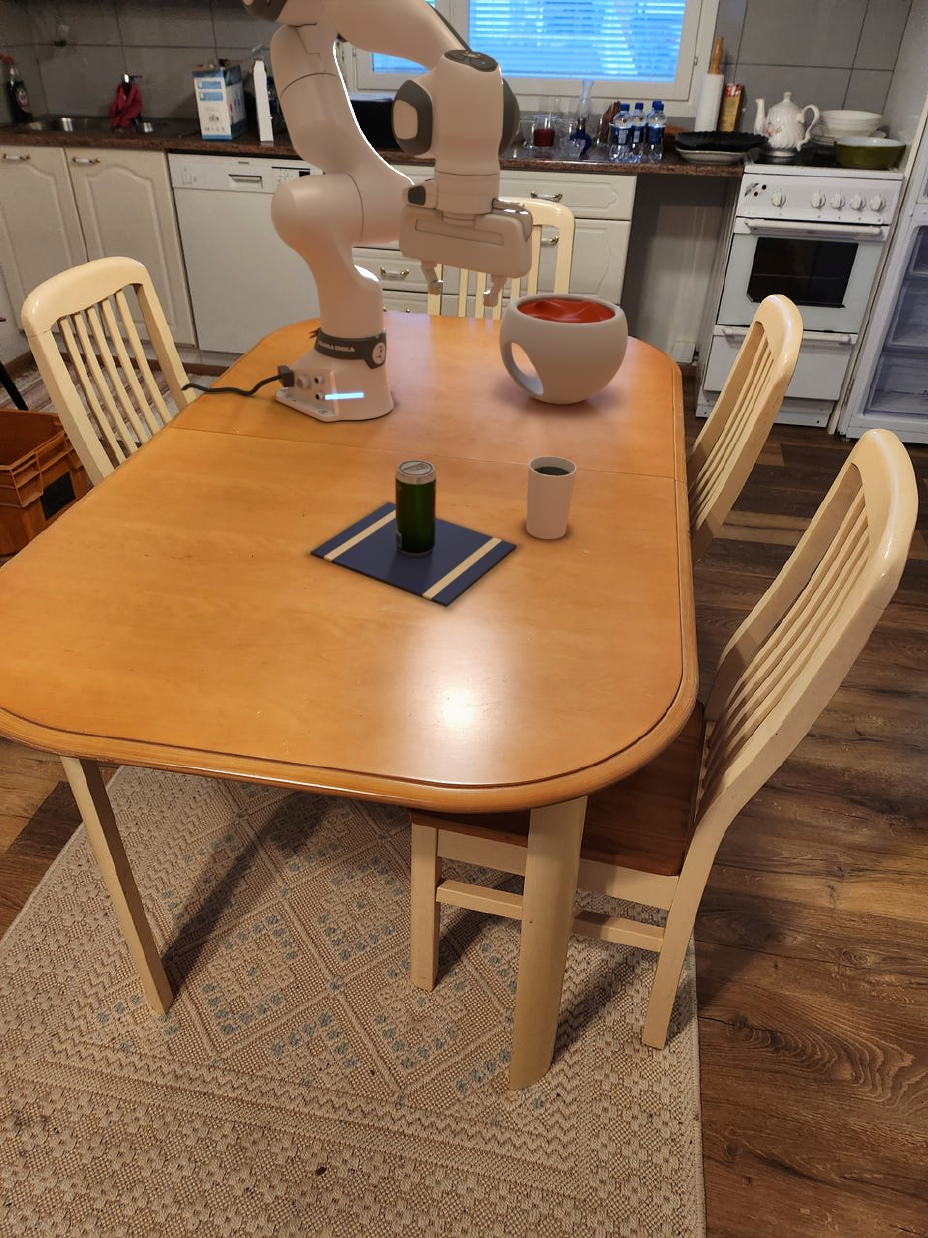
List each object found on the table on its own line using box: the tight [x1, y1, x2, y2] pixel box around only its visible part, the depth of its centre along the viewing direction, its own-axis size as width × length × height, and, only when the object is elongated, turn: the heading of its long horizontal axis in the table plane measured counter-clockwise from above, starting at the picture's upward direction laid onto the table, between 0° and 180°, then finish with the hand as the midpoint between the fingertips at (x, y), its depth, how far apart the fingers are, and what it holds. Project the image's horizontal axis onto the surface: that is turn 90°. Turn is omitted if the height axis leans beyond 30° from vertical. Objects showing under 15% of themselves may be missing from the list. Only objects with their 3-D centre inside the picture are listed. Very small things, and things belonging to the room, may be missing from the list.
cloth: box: [310, 501, 518, 608], centre depth 119 cm, size 22×18×1 cm
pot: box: [498, 292, 629, 405], centre depth 165 cm, size 24×24×18 cm
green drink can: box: [394, 459, 437, 557], centre depth 116 cm, size 5×5×12 cm
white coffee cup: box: [525, 455, 577, 540], centre depth 123 cm, size 7×7×10 cm
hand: (462, 299), depth 125 cm, fingers open, 8 cm apart
